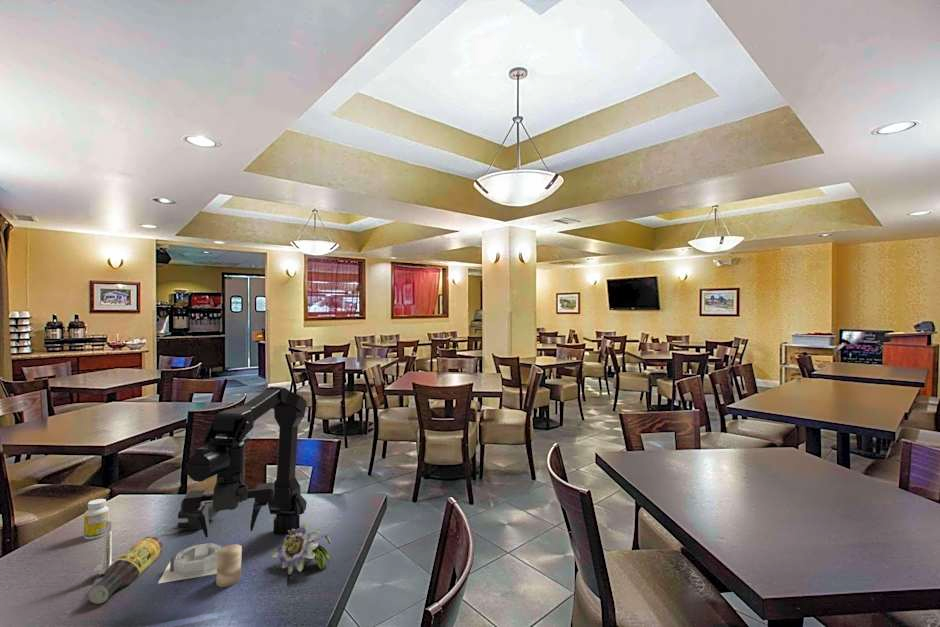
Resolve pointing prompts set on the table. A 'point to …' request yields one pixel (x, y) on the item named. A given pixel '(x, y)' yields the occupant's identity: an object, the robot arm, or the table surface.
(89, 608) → the table surface
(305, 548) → the passion flower
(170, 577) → the base plate
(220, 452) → the robot arm
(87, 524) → the supplement bottle
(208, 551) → the white faceted ring
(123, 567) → the sauce bottle
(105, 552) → the graduated cylinder
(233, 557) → the maple peg
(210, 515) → the end cap
